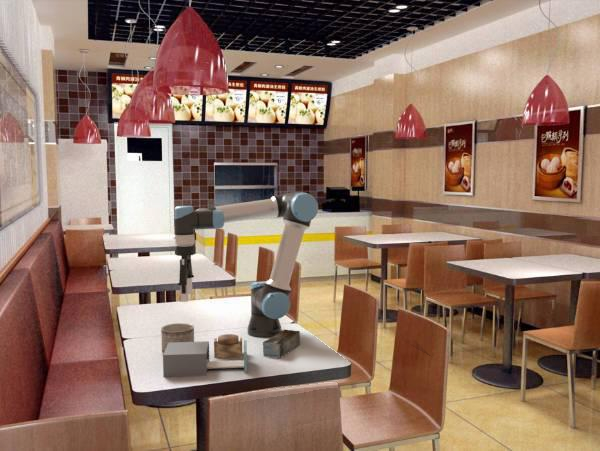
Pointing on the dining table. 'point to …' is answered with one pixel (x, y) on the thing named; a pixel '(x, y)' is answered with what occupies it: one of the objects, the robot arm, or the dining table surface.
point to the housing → (185, 359)
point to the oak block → (227, 349)
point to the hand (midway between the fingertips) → (186, 297)
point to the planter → (176, 334)
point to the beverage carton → (281, 343)
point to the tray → (230, 362)
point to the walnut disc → (228, 339)
